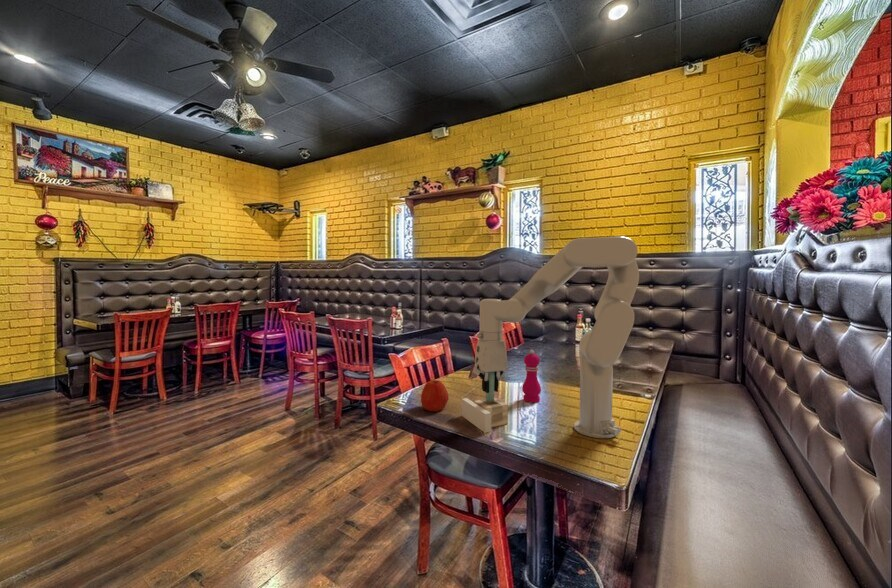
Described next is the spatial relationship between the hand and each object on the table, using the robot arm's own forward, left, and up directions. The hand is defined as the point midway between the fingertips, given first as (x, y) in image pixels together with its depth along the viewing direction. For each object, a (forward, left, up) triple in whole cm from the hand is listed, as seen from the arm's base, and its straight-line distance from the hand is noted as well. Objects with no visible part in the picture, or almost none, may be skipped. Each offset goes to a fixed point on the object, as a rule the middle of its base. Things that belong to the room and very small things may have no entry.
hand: (490, 390), depth 124 cm
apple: (+20, +12, -11) cm, 25 cm away
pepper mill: (+12, -26, -11) cm, 31 cm away
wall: (+1, +5, -10) cm, 12 cm away
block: (0, 0, -10) cm, 10 cm away
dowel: (0, 0, -3) cm, 3 cm away
